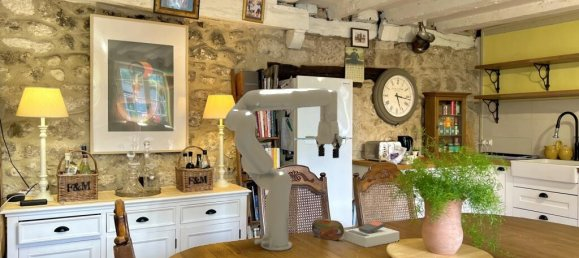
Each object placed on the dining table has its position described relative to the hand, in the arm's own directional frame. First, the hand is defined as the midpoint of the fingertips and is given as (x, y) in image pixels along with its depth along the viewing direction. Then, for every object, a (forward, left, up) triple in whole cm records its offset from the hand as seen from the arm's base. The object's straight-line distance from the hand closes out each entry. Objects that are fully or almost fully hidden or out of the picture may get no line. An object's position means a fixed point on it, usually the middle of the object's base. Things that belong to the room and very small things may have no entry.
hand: (328, 157), depth 189 cm
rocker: (+15, -12, -30) cm, 36 cm away
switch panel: (+15, -12, -36) cm, 41 cm away
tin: (+1, 0, -36) cm, 36 cm away
